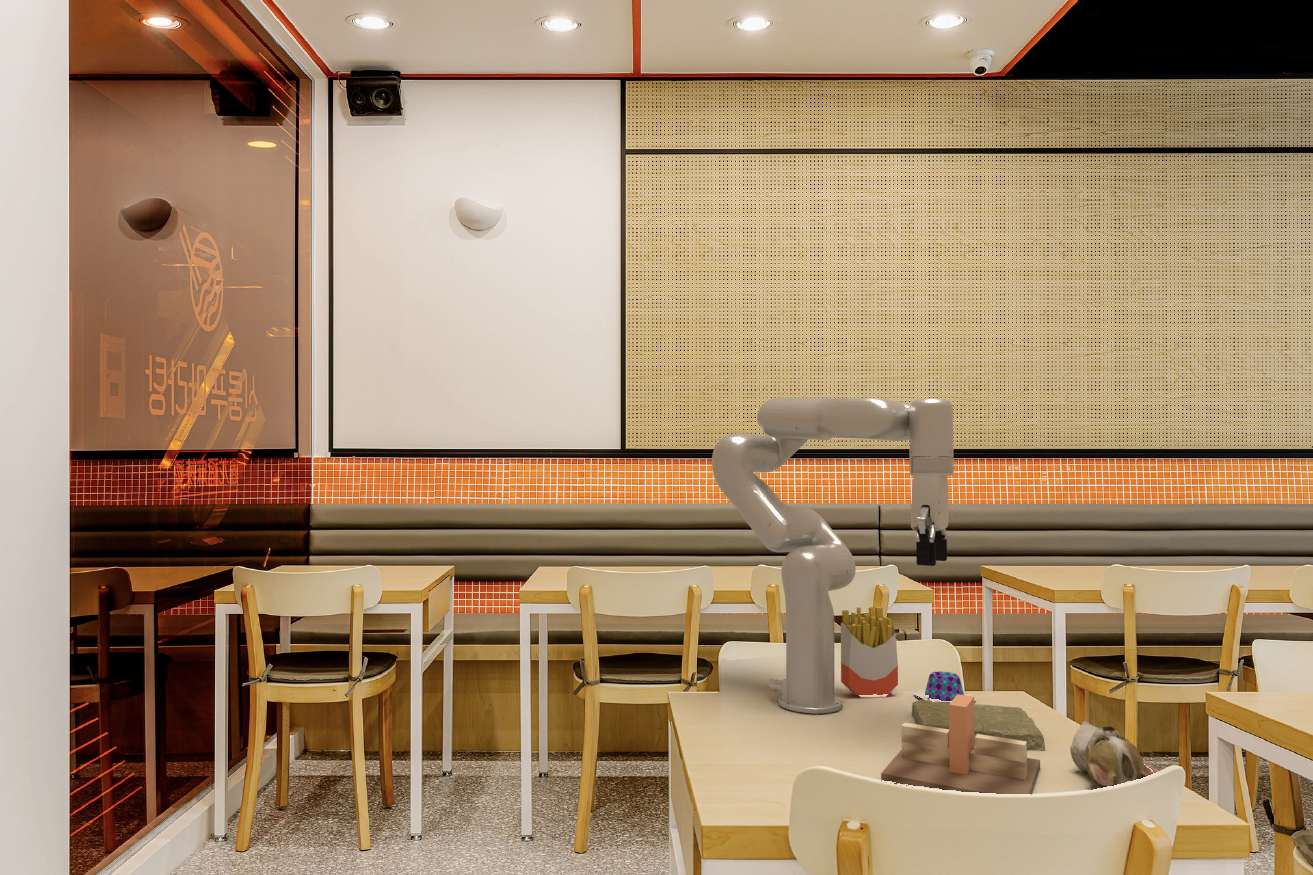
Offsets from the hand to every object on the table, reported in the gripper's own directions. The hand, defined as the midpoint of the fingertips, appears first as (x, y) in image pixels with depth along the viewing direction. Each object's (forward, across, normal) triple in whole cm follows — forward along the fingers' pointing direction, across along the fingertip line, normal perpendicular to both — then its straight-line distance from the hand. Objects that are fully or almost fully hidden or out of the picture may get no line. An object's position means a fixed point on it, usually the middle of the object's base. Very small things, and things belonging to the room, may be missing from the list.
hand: (932, 562), depth 147 cm
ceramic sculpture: (+31, +10, +28) cm, 43 cm away
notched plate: (+29, +18, +8) cm, 35 cm away
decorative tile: (+31, -6, +6) cm, 32 cm away
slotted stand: (+30, +18, +8) cm, 36 cm away
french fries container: (+31, -20, -17) cm, 40 cm away
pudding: (+31, -26, -3) cm, 40 cm away
